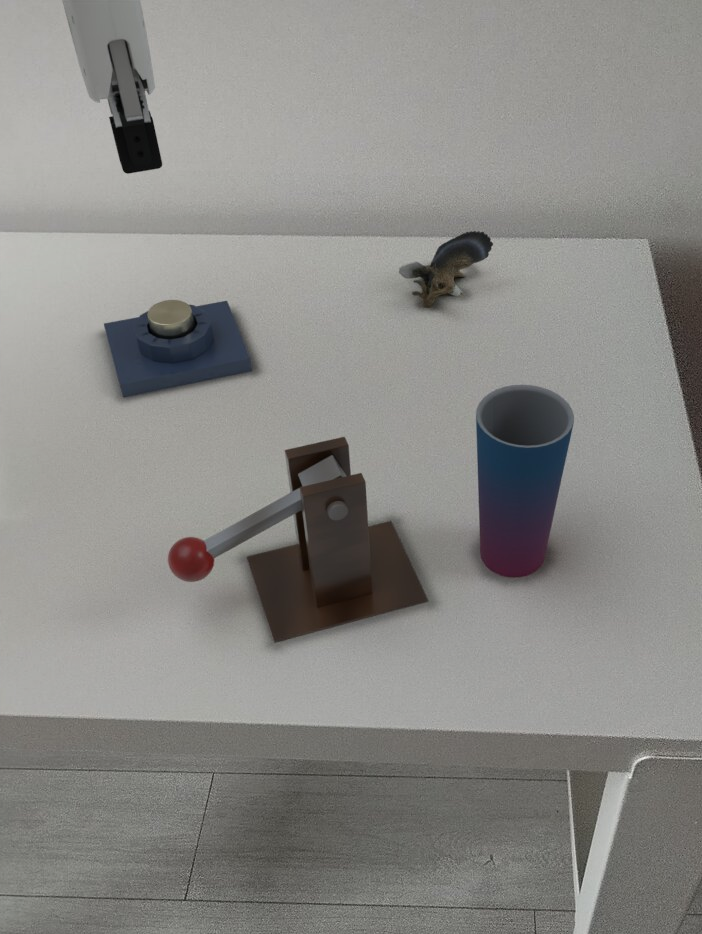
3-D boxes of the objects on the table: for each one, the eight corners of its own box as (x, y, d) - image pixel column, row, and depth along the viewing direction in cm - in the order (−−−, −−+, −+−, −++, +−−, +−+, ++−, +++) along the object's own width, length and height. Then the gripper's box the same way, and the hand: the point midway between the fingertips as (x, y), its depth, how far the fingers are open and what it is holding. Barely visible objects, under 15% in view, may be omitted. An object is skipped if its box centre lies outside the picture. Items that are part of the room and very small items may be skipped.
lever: (188, 597, 74) (163, 574, 72) (179, 566, 76) (155, 542, 73) (359, 503, 73) (340, 475, 71) (346, 474, 75) (327, 446, 73)
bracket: (275, 651, 77) (254, 530, 68) (248, 566, 83) (224, 443, 73) (428, 609, 80) (428, 488, 70) (391, 530, 86) (387, 407, 76)
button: (155, 344, 95) (151, 328, 94) (147, 320, 98) (143, 304, 97) (198, 335, 96) (195, 319, 95) (190, 312, 99) (186, 296, 98)
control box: (124, 404, 95) (115, 368, 92) (108, 342, 102) (98, 307, 98) (253, 377, 98) (247, 342, 95) (230, 319, 104) (224, 284, 101)
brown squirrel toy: (473, 319, 103) (509, 260, 107) (433, 261, 99) (472, 202, 103) (419, 333, 108) (455, 276, 112) (379, 279, 104) (417, 222, 108)
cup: (571, 562, 84) (594, 415, 72) (514, 607, 80) (528, 461, 69) (509, 519, 87) (521, 372, 75) (451, 561, 83) (455, 414, 72)
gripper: (16, -119, 75) (83, 132, 89) (38, -46, 66) (109, 220, 80) (121, -129, 77) (171, 119, 91) (156, -60, 68) (205, 203, 82)
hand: (141, 166), depth 85 cm, fingers closed
